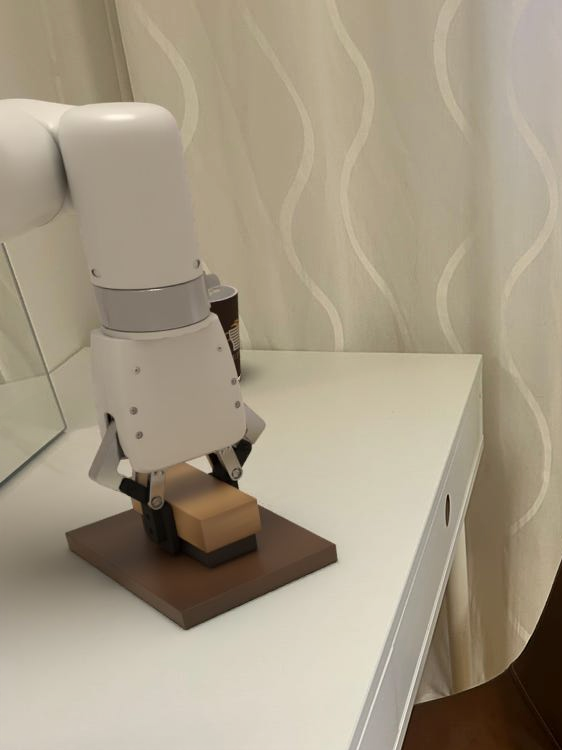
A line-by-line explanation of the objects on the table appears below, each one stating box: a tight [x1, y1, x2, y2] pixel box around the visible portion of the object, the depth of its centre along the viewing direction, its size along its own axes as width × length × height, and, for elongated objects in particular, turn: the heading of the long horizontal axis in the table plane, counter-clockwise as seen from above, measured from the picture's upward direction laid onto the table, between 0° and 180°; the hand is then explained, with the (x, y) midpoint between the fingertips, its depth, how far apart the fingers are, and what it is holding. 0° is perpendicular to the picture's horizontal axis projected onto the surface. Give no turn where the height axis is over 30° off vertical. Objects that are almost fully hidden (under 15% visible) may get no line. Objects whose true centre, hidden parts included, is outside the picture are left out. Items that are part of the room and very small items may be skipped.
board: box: [64, 504, 338, 630], centre depth 79 cm, size 18×14×2 cm
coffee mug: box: [209, 283, 242, 377], centre depth 111 cm, size 12×9×10 cm
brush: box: [128, 462, 262, 568], centre depth 77 cm, size 11×5×4 cm, turn 46°
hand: (198, 532), depth 78 cm, fingers closed on brush, 5 cm apart
